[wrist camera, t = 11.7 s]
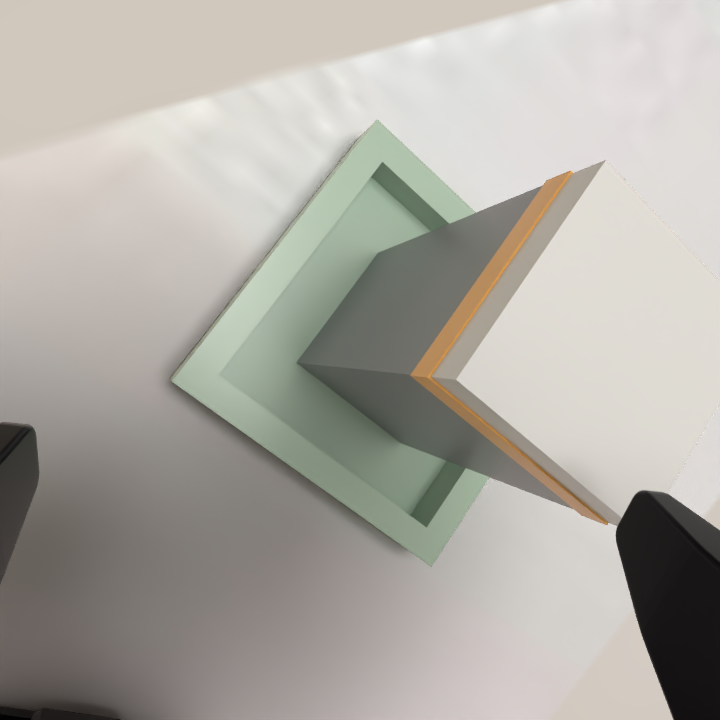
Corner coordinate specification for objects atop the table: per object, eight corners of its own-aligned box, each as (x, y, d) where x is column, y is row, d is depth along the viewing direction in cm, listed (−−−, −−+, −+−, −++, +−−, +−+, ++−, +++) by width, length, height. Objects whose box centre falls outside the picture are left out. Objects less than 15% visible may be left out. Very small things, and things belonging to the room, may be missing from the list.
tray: (409, 549, 24) (431, 566, 22) (169, 378, 21) (172, 381, 19) (558, 323, 26) (590, 321, 24) (358, 137, 23) (377, 119, 21)
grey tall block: (401, 445, 23) (643, 539, 12) (294, 362, 22) (452, 380, 11) (476, 336, 24) (766, 327, 13) (377, 250, 23) (605, 155, 11)
